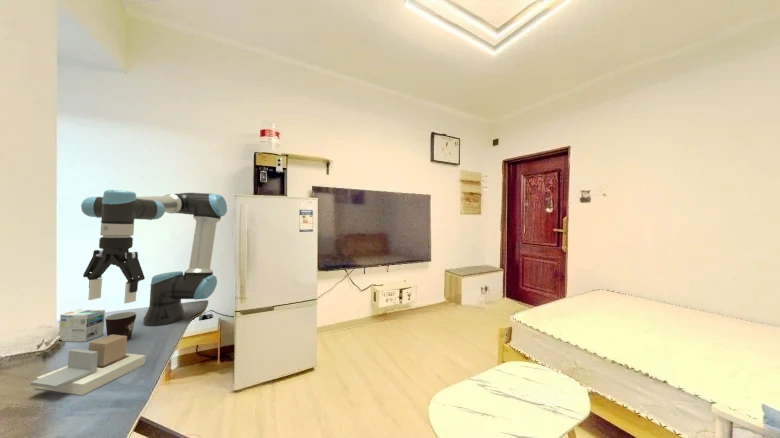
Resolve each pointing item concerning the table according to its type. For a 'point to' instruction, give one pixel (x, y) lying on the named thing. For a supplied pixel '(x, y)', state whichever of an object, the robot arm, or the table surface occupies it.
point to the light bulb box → (81, 325)
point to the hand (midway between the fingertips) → (112, 300)
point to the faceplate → (99, 375)
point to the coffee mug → (120, 324)
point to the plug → (109, 349)
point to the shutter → (71, 369)
